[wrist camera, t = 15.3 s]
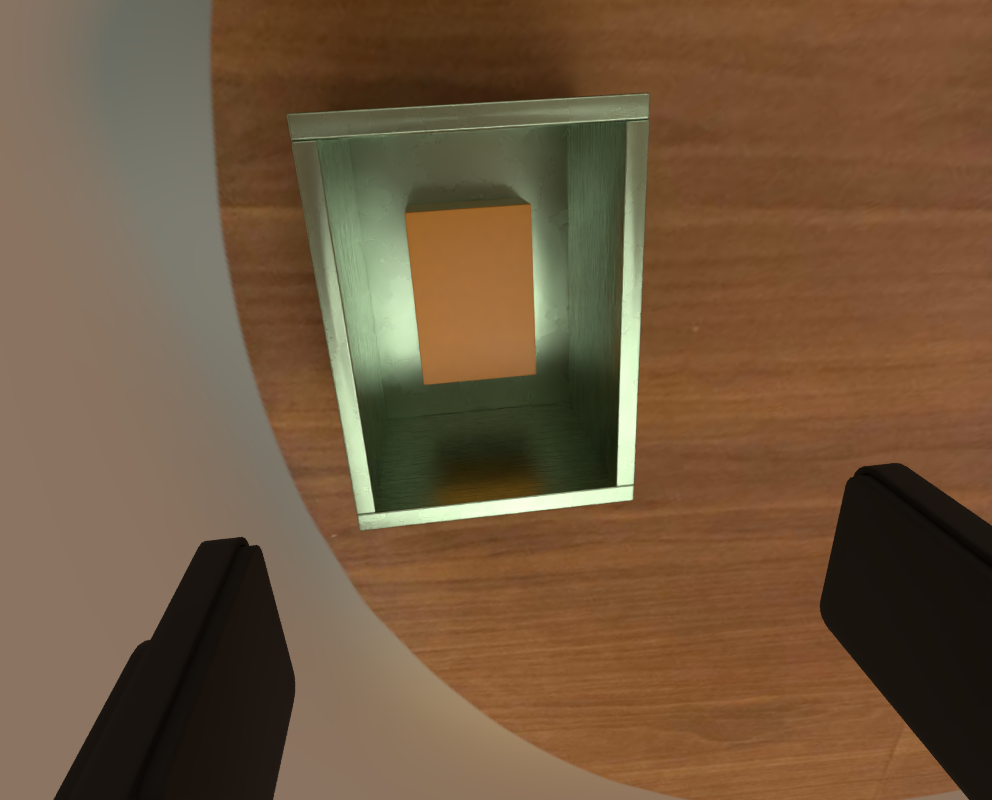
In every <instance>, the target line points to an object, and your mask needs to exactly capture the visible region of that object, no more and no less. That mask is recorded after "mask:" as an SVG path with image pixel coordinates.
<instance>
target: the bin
mask: <svg viewBox="0 0 992 800" xmlns="http://www.w3.org/2000/svg"><path fill="white" fill-rule="evenodd" d="M649 112H650V93H633V94H615V95H598V96H580V97H563V98H545V99H528V100H510V101H493V102H475V103H458V104H440V105H422V106H405V107H387V108H370V109H352V110H335V111H317V112H300V113H288V114H287V122H288V128H289V133H290V139H291V140H292V141H293V142H292V143H291V145H292V151H293V156H294V162H295V168H296V173H297V179H298V185H299V190H300V196H301V202H302V207H303V213H304V219H305V224H306V230H307V236H308V241H309V247H310V253H311V258H312V264H313V270H314V275H315V281H316V287H317V292H318V298H319V304H320V309H321V315H322V321H323V326H324V332H325V338H326V343H327V349H328V355H329V360H330V366H331V372H332V377H333V383H334V389H335V394H336V400H337V406H338V411H339V417H340V423H341V428H342V434H343V440H344V445H345V451H346V457H347V463H348V468H349V474H350V480H351V485H352V491H353V497H354V502H355V508H356V513H357V519H358V525H359V530H360V531H362V530H371V529H380V528H389V527H398V526H407V525H416V524H425V523H434V522H443V521H452V520H461V519H470V518H479V517H488V516H497V515H506V514H515V513H524V512H533V511H542V510H551V509H560V508H569V507H578V506H587V505H596V504H605V503H614V502H623V501H632V500H633V499H634V480H635V456H636V432H637V408H638V384H639V360H640V335H641V311H642V287H643V263H644V239H645V215H646V190H647V166H648V142H649V120H647V119H649ZM505 198H522V199H524V200H525V201H527V202H529V203H530V204H531V216H532V248H533V280H534V312H535V344H536V375H526V376H515V377H504V378H494V379H483V380H472V381H461V382H451V383H440V384H429V385H424V384H423V375H422V366H421V358H420V349H419V340H418V331H417V322H416V313H415V304H414V295H413V286H412V277H411V268H410V259H409V250H408V242H407V233H406V224H405V215H404V213H405V209H406V206H407V205H419V204H434V203H448V202H462V201H477V200H491V199H505Z"/></svg>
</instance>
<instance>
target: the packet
mask: <svg viewBox="0 0 992 800" xmlns="http://www.w3.org/2000/svg"><path fill="white" fill-rule="evenodd" d="M404 215H405V224H406V233H407V242H408V250H409V259H410V268H411V277H412V286H413V295H414V304H415V313H416V322H417V331H418V340H419V349H420V358H421V366H422V375H423V384H424V385H429V384H440V383H451V382H461V381H472V380H483V379H494V378H504V377H515V376H526V375H536V344H535V312H534V280H533V248H532V216H531V204H530V203H529V202H527V201H525V200H524V199H522V198H505V199H491V200H477V201H462V202H448V203H434V204H419V205H407V206H406V209H405V213H404Z"/></svg>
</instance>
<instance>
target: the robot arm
mask: <svg viewBox="0 0 992 800" xmlns="http://www.w3.org/2000/svg"><path fill="white" fill-rule="evenodd" d="M820 612H821V615H822V618H823V620H824V623H825V624H826V626H827V627H828V629H829V630H830V631H831V632H832V633H833V635H834V636H835V637H836V638H837V640H838V641H839V642H840V643H841V644H842V646H843V647H844V648H845V649H846V650H847V652H848V653H849V654H850V655H851V657H852V658H853V659H854V660H855V661H856V663H857V664H858V665H859V666H860V668H861V669H862V670H863V671H864V672H865V674H866V675H867V676H868V677H869V678H870V680H871V681H872V682H873V683H874V685H875V686H876V687H877V688H878V689H879V691H880V692H881V693H882V694H883V695H884V697H885V698H886V699H887V700H888V702H889V703H890V704H891V705H892V706H893V708H894V709H895V710H896V711H897V713H898V714H899V715H900V716H901V717H902V719H903V720H904V721H905V722H906V723H907V725H908V726H909V727H910V728H911V730H912V731H913V732H914V733H915V734H916V736H917V737H918V738H919V739H920V741H921V742H922V743H923V744H924V745H925V747H926V748H927V749H928V750H929V751H930V753H931V754H932V755H933V756H934V758H935V759H936V760H937V761H938V762H939V764H940V765H941V766H942V767H943V768H944V770H945V771H946V772H947V773H948V775H949V776H950V777H951V778H952V779H953V781H954V782H955V783H956V784H957V786H958V787H959V788H960V789H961V790H962V791H963V793H964V794H965V795H966V796H967V798H968V799H969V800H992V526H991V525H990V524H989V523H987V522H986V521H984V520H983V519H981V518H980V517H978V516H977V515H976V514H974V513H973V512H971V511H970V510H968V509H967V508H965V507H964V506H963V505H961V504H960V503H958V502H957V501H955V500H954V499H953V498H951V497H950V496H948V495H947V494H945V493H944V492H942V491H941V490H940V489H938V488H937V487H935V486H934V485H932V484H931V483H929V482H928V481H927V480H925V479H924V478H922V477H921V476H919V475H918V474H916V473H915V472H914V471H912V470H911V469H909V468H908V467H906V466H904V465H902V464H900V463H891V464H882V465H873V466H864V467H861V468H859V469H858V470H857V471H856V472H855V474H854V477H852V478H850V479H849V480H848V481H847V483H846V486H845V491H844V495H843V500H842V505H841V509H840V514H839V518H838V523H837V528H836V532H835V537H834V541H833V546H832V550H831V555H830V560H829V564H828V569H827V573H826V578H825V582H824V587H823V592H822V596H821V601H820ZM294 697H295V676H294V671H293V667H292V663H291V660H290V656H289V652H288V648H287V644H286V641H285V637H284V633H283V629H282V625H281V622H280V618H279V614H278V610H277V607H276V603H275V599H274V595H273V591H272V587H271V584H270V580H269V576H268V572H267V568H266V564H265V561H264V557H263V553H262V550H261V548H260V547H259V546H258V545H253V546H249V544H248V542H247V540H246V539H245V538H243V537H237V538H229V539H220V540H211V541H204V542H202V543H201V544H200V546H199V547H198V549H197V551H196V553H195V555H194V557H193V559H192V561H191V563H190V565H189V567H188V569H187V570H186V572H185V574H184V576H183V578H182V580H181V582H180V584H179V586H178V588H177V590H176V592H175V594H174V596H173V598H172V599H171V602H170V603H169V605H168V607H167V609H166V611H165V613H164V615H163V617H162V619H161V621H160V623H159V625H158V627H157V628H156V630H155V632H154V634H153V636H152V638H151V640H147V641H144V642H143V643H141V644H140V645H138V646H137V648H136V649H135V651H134V652H133V654H132V655H131V657H130V658H129V661H128V662H127V664H126V666H125V668H124V670H123V671H122V673H121V675H120V677H119V679H118V681H117V683H116V685H115V686H114V688H113V690H112V692H111V694H110V696H109V698H108V699H107V701H106V703H105V705H104V707H103V709H102V711H101V712H100V714H99V716H98V718H97V720H96V722H95V724H94V726H93V728H92V729H91V731H90V733H89V735H88V737H87V738H86V740H85V742H84V744H83V746H82V748H81V750H80V751H79V753H78V755H77V757H76V759H75V761H74V763H73V764H72V766H71V768H70V770H69V772H68V774H67V776H66V778H65V779H64V781H63V783H62V785H61V787H60V789H59V790H58V792H57V794H56V796H55V798H54V800H273V797H274V792H275V788H276V782H277V778H278V773H279V769H280V764H281V759H282V754H283V750H284V745H285V740H286V736H287V731H288V726H289V722H290V717H291V712H292V708H293V703H294Z"/></svg>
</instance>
